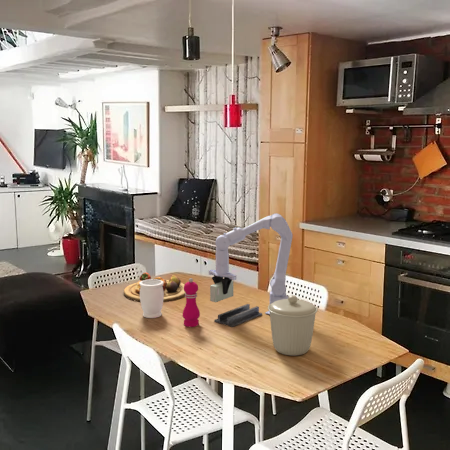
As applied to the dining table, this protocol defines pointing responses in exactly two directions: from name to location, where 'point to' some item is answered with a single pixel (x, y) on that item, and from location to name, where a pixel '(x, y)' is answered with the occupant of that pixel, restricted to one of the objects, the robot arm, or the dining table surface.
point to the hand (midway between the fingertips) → (222, 292)
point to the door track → (238, 315)
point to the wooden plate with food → (170, 287)
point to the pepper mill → (191, 304)
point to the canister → (292, 325)
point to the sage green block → (220, 292)
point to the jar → (151, 297)
